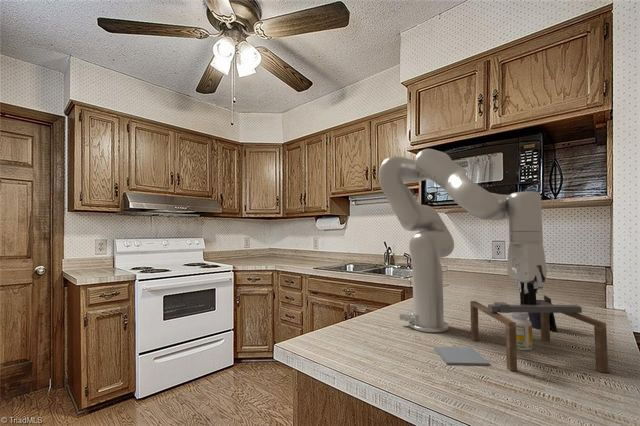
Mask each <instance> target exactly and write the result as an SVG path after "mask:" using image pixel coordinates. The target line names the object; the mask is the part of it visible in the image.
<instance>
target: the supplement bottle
mask: <svg viewBox="0 0 640 426" xmlns="http://www.w3.org/2000/svg"><path fill="white" fill-rule="evenodd" d="M510 314H511V317H509V319H510V320H512V321H514V322H516V348H517V350H519V351H531V350H532V349H533V329H532V328H533V327H532V324H531V321H530V320H529V316H528V313H513V312H510Z"/></svg>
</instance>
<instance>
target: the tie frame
mask: <svg viewBox="0 0 640 426" xmlns="http://www.w3.org/2000/svg"><path fill="white" fill-rule="evenodd" d="M469 302H470V303H469V304H470V334H471V337H470V338H471V340H472V341H476V342H479V341H480V339H479V338H480V336H479V335H480V334H479V330H480V329H479V311H481V312H483V313H485V314H486V315H487V316H489V317H491V318H493V319H495V320H496V321H498V322H500V323H502V324H503V325H505V344H506V345H505V347H506V349H505V350H506V351H505V352H506V369H507V370H508V371H509V372H518V359H517V357H518V353H517V351H518V349H517V348H516V322H514V321H512V320H510V318H508V317H506V316H505V315H502V313H499V312H490V311H489V310H488V306H485V305H484V304H482V303H480V302H479V301H476V300H470V301H469ZM551 303H552V302H551ZM551 303H548V302H540V305H555V304H553V303H552V304H551ZM540 314H541V329H540V337H541V338H540V339H541V341H543V342H547V343H548V342H551V330H550V329H551V328H550V324H549V313H540ZM561 314H562V315H565V316H568V317H570V318H573V319H576V320H578V321H581V322H583V323H586V324H588V325H592V326H593V330H594V331H593V334H594V355H595V359H594V360H595V361H594V362H595V370H596V371H598V372H599V373H601V374H603V373H605V374H607V373H609V365H608V364H609V362H608V361H609V360H608V358H609V357H608V356H609V355H608V339H607V338H608V337H607V335H608V334H607V332H608V331H607V323H606V322H603V321H601V320H598V319H596V318H592V317H590V316H587V315H584V314H582V313H561Z"/></svg>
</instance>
